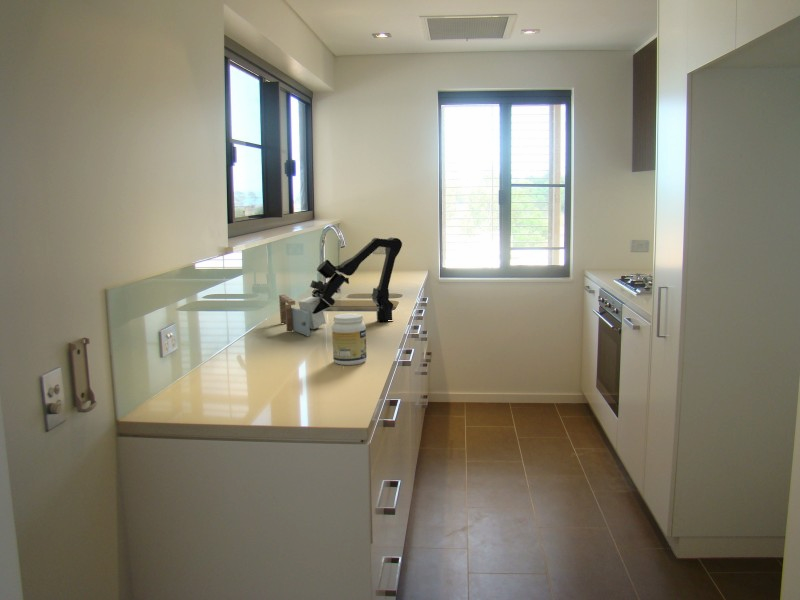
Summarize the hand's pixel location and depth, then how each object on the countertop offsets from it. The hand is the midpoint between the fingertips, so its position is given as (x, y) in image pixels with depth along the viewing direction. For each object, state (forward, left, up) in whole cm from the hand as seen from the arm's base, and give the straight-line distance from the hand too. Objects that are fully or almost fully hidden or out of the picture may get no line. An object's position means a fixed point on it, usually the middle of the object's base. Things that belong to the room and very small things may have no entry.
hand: (311, 311), depth 313 cm
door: (+7, +10, -7) cm, 14 cm away
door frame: (+11, -7, -8) cm, 15 cm away
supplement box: (-2, -1, -7) cm, 7 cm away
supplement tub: (-6, +66, -8) cm, 67 cm away
